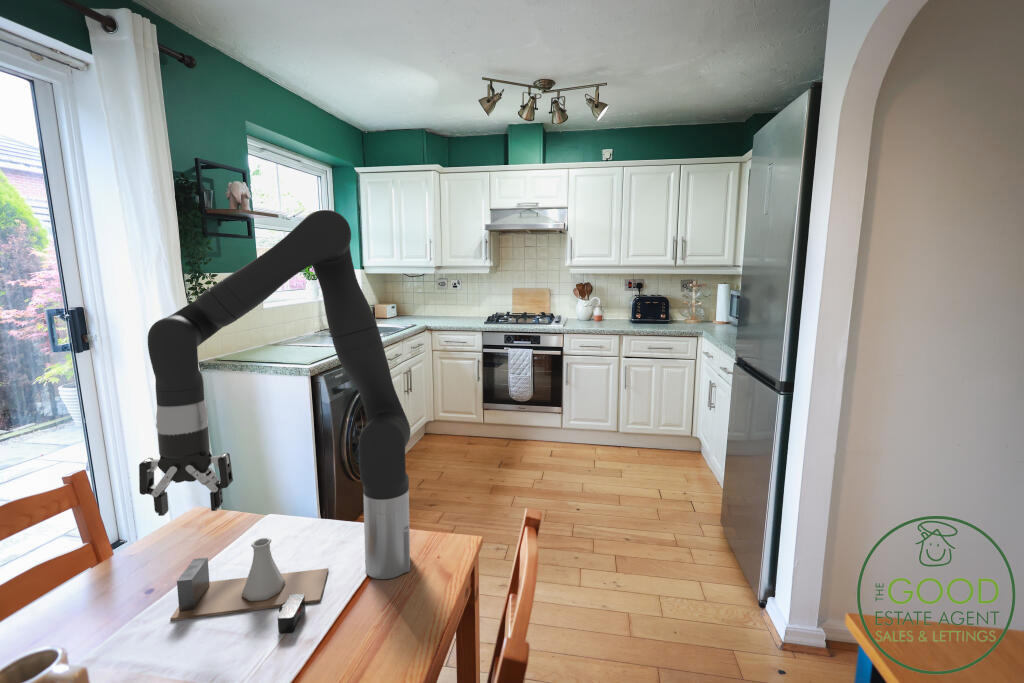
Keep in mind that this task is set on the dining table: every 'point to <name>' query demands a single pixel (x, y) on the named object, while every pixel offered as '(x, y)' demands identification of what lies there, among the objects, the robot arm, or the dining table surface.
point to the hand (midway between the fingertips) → (189, 511)
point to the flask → (262, 574)
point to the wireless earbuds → (291, 613)
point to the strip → (237, 592)
